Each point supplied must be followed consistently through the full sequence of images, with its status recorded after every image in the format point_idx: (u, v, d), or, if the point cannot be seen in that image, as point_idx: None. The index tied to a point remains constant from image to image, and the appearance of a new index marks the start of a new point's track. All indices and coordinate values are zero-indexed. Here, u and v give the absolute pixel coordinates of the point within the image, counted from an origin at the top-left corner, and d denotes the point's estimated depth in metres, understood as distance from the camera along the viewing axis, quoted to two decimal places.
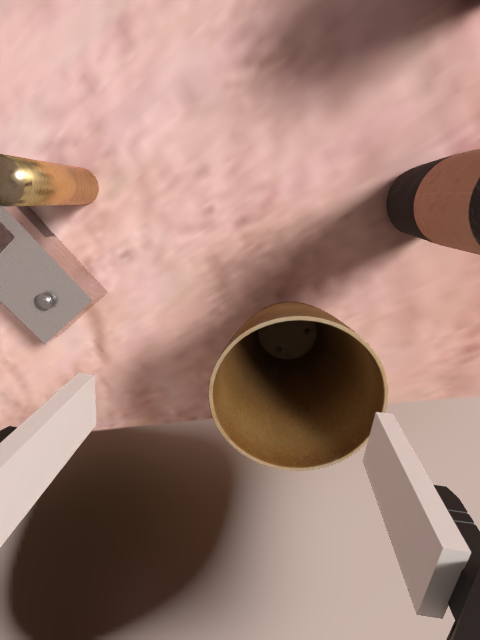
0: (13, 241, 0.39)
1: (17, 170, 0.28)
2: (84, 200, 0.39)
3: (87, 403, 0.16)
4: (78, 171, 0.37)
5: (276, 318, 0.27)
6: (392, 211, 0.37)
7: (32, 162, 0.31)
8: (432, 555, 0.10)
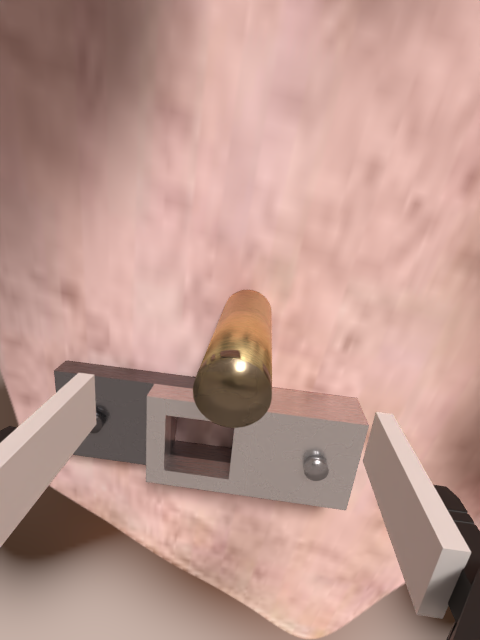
0: (236, 430, 0.29)
1: (244, 364, 0.17)
2: None
3: (87, 403, 0.16)
4: (246, 301, 0.26)
5: None
6: None
7: (232, 337, 0.20)
8: (432, 555, 0.10)
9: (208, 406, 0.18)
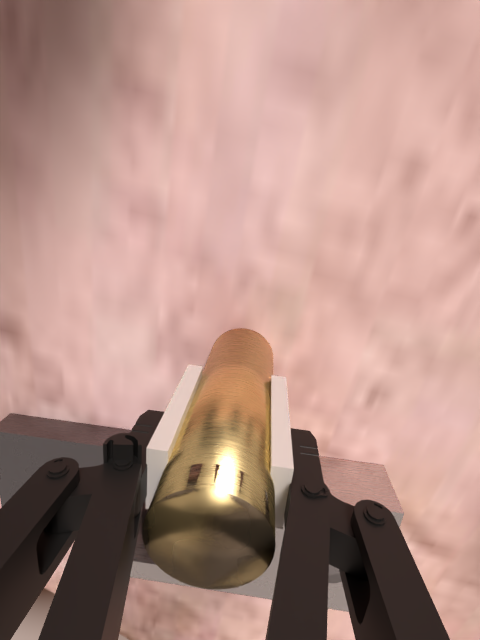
0: None
1: (228, 499, 0.10)
2: None
3: None
4: (240, 349, 0.19)
5: None
6: None
7: (212, 429, 0.12)
8: None
9: (169, 557, 0.11)
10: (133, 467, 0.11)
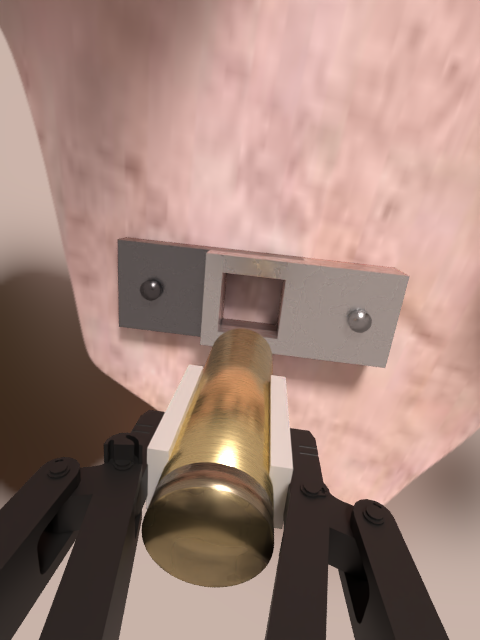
0: (287, 285, 0.32)
1: (227, 497, 0.10)
2: None
3: None
4: (239, 349, 0.19)
5: None
6: None
7: (211, 428, 0.13)
8: None
9: (168, 556, 0.11)
10: (134, 467, 0.11)
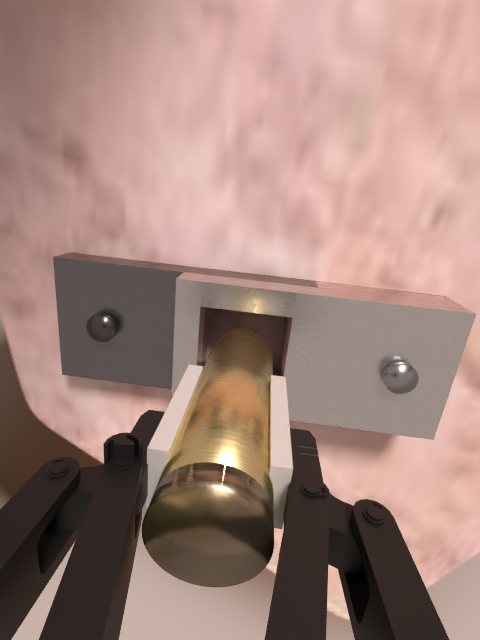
0: (294, 325, 0.22)
1: (227, 498, 0.10)
2: None
3: None
4: (239, 349, 0.19)
5: None
6: None
7: (211, 428, 0.13)
8: None
9: (169, 556, 0.11)
10: (134, 467, 0.11)
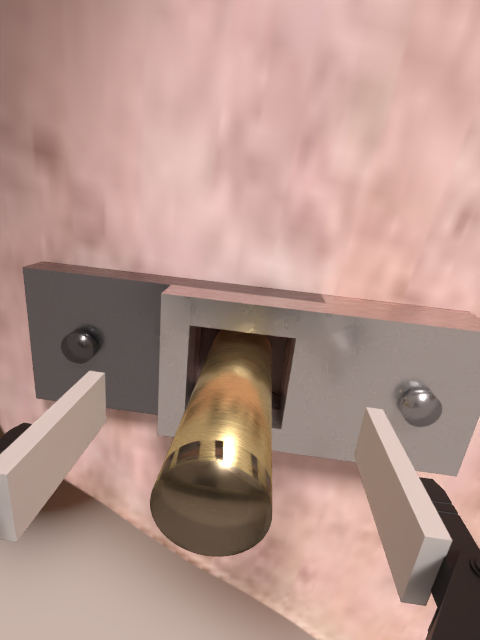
0: (298, 347, 0.19)
1: (229, 470, 0.11)
2: None
3: (98, 401, 0.16)
4: (239, 341, 0.20)
5: None
6: None
7: (214, 411, 0.13)
8: (415, 543, 0.10)
9: (175, 526, 0.12)
10: None
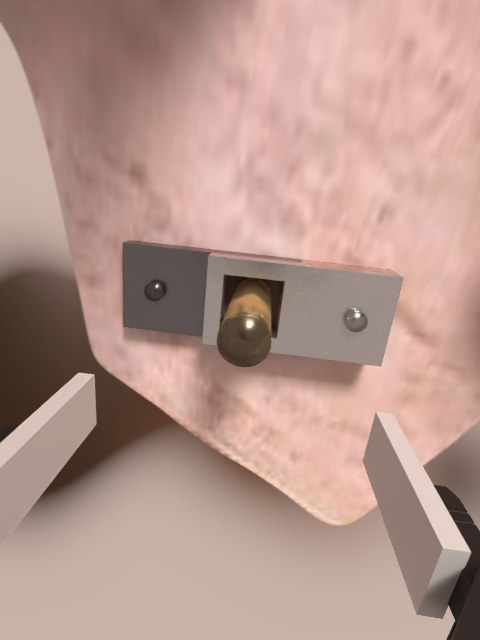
0: (286, 286, 0.33)
1: (252, 320, 0.25)
2: None
3: (87, 403, 0.16)
4: (252, 285, 0.34)
5: None
6: None
7: (243, 305, 0.28)
8: (432, 555, 0.10)
9: (227, 351, 0.26)
10: None
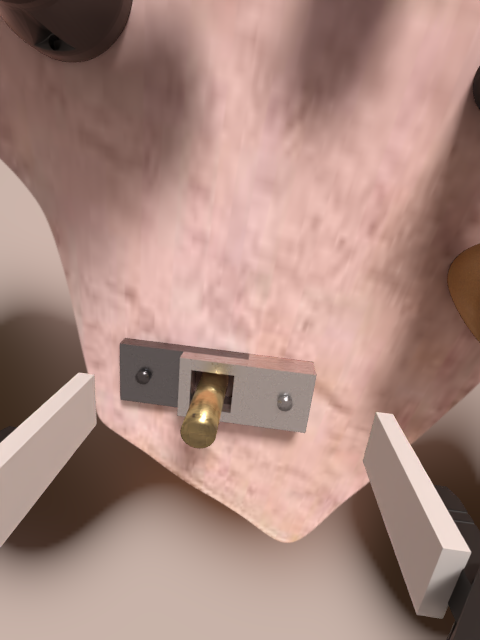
0: (235, 379, 0.47)
1: (203, 421, 0.39)
2: (226, 387, 0.49)
3: (87, 403, 0.16)
4: (212, 376, 0.48)
5: None
6: None
7: (199, 404, 0.41)
8: (432, 555, 0.10)
9: (187, 438, 0.40)
10: None
